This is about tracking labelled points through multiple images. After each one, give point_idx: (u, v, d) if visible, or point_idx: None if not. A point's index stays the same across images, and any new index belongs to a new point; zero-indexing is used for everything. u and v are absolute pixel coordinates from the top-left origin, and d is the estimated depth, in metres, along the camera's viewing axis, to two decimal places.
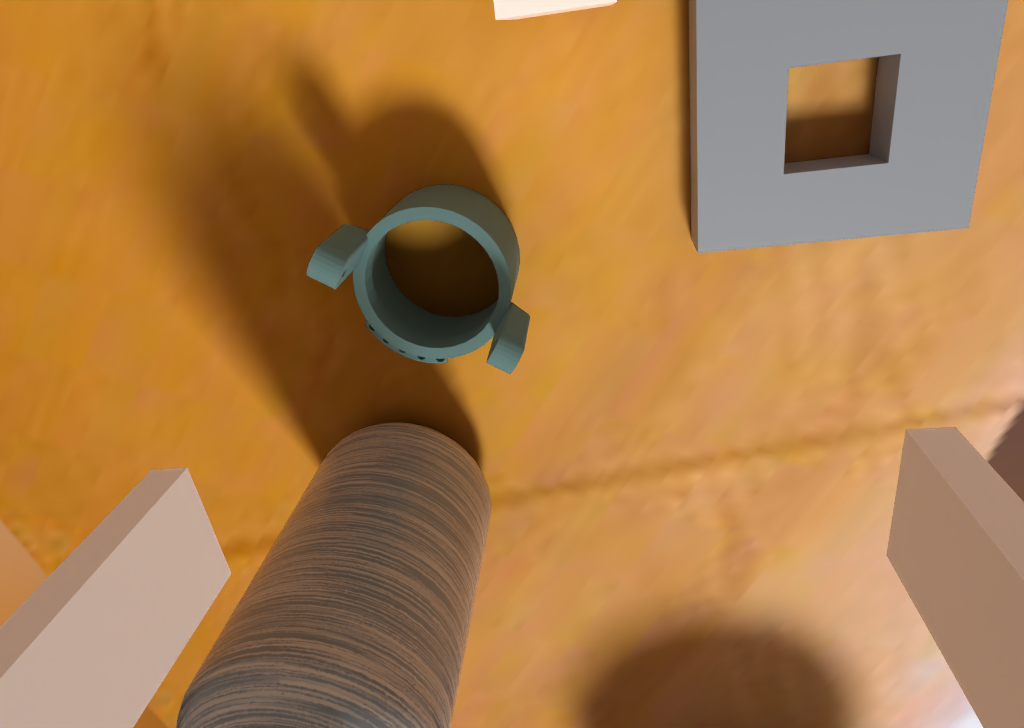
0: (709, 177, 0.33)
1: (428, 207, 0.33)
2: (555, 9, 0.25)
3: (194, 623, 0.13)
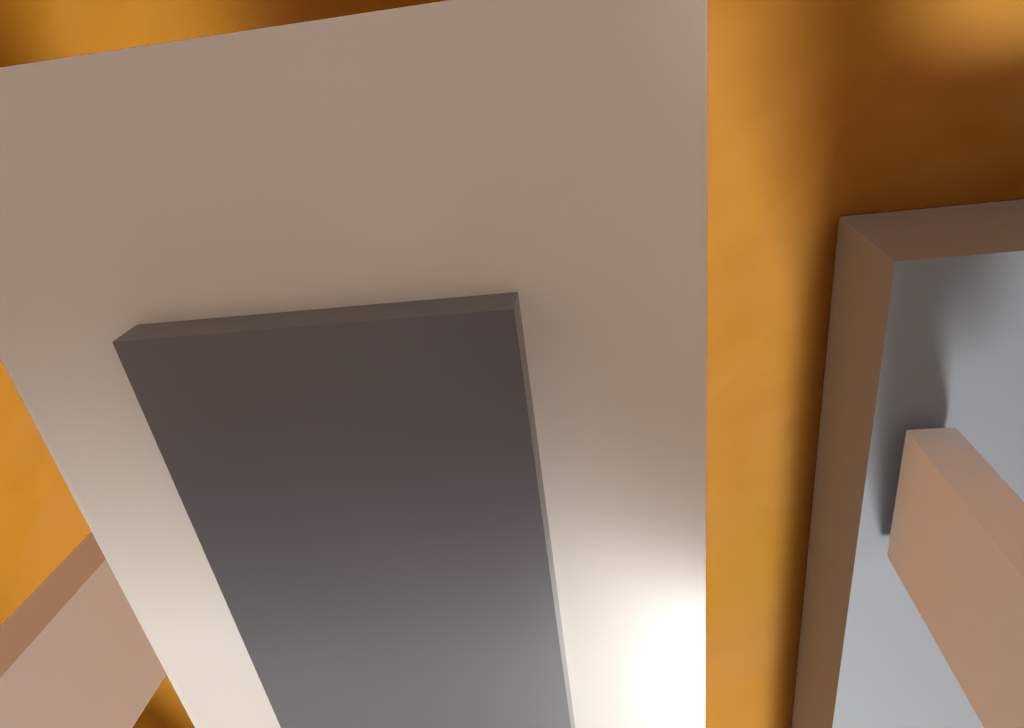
0: None
1: None
2: None
3: None
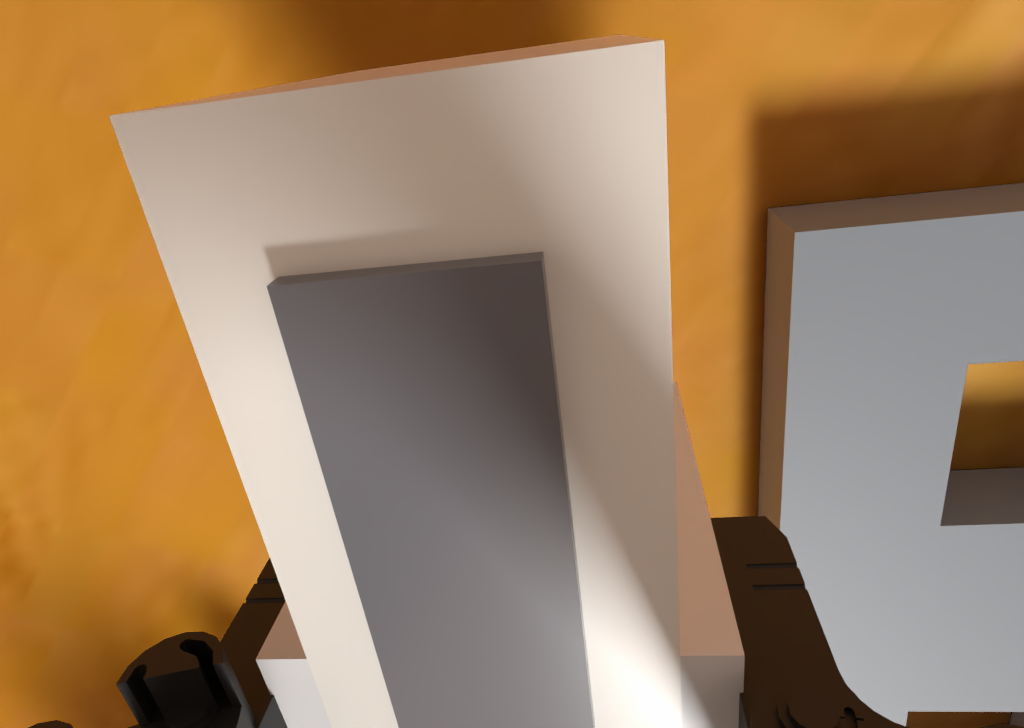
0: None
1: None
2: None
3: None
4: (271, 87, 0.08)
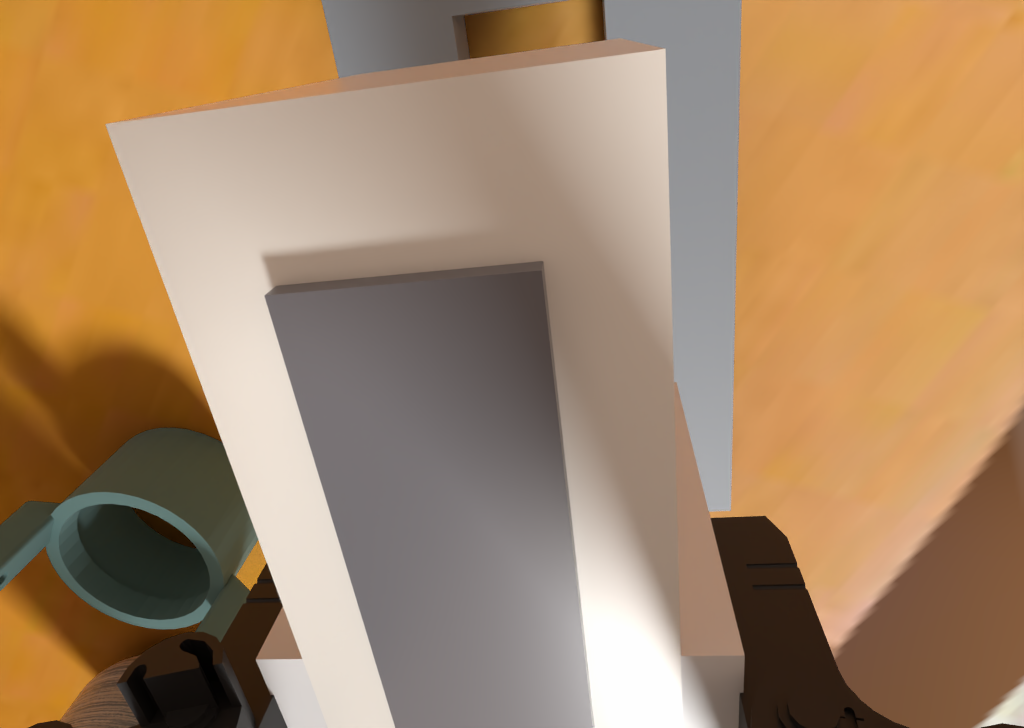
0: None
1: (111, 492, 0.29)
2: None
3: None
4: (269, 93, 0.08)
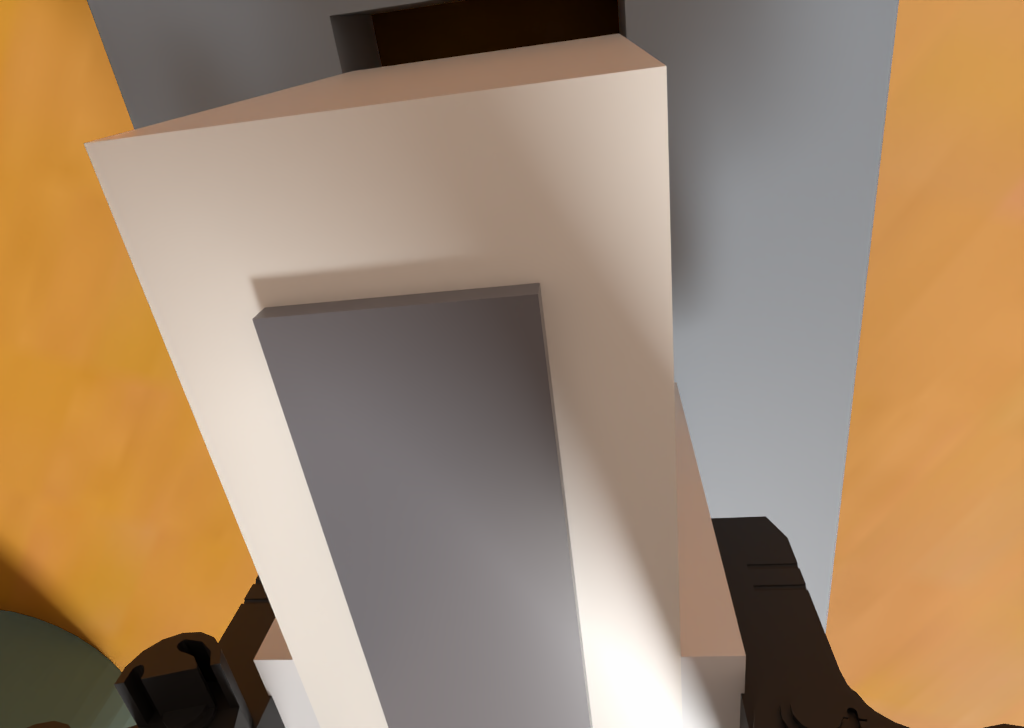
0: None
1: None
2: None
3: None
4: (257, 99, 0.08)
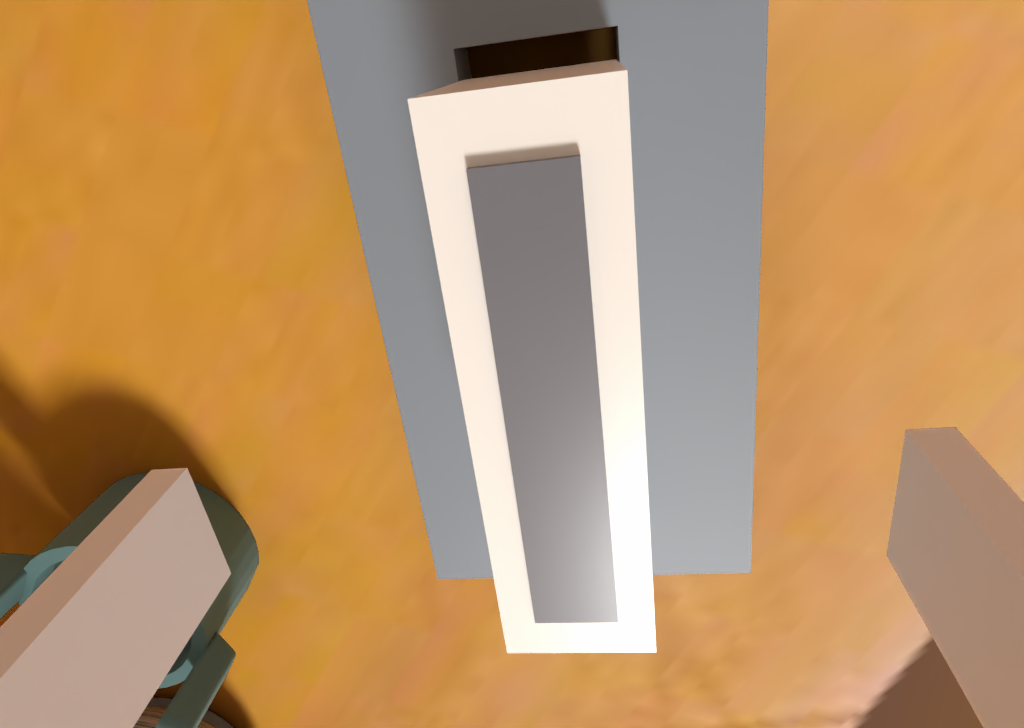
0: (435, 507, 0.27)
1: None
2: (580, 651, 0.20)
3: (195, 623, 0.13)
4: (445, 88, 0.16)
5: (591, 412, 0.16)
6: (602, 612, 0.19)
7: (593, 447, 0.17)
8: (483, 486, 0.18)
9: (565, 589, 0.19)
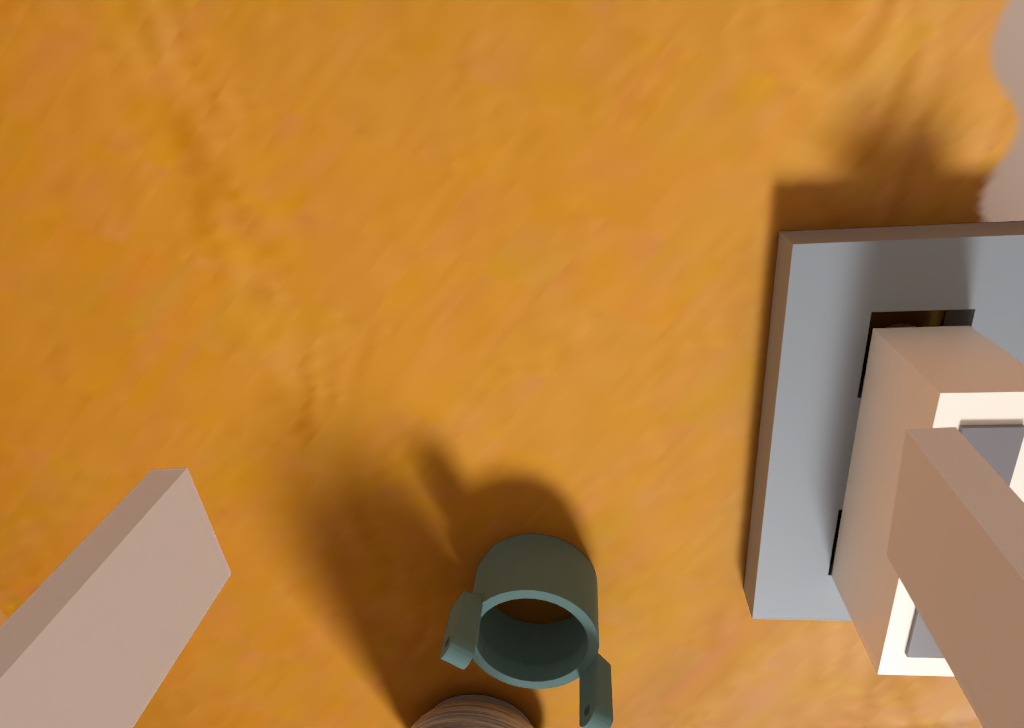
0: (767, 571, 0.41)
1: (537, 590, 0.40)
2: (925, 674, 0.34)
3: (195, 623, 0.13)
4: (919, 366, 0.30)
5: None
6: None
7: None
8: None
9: None
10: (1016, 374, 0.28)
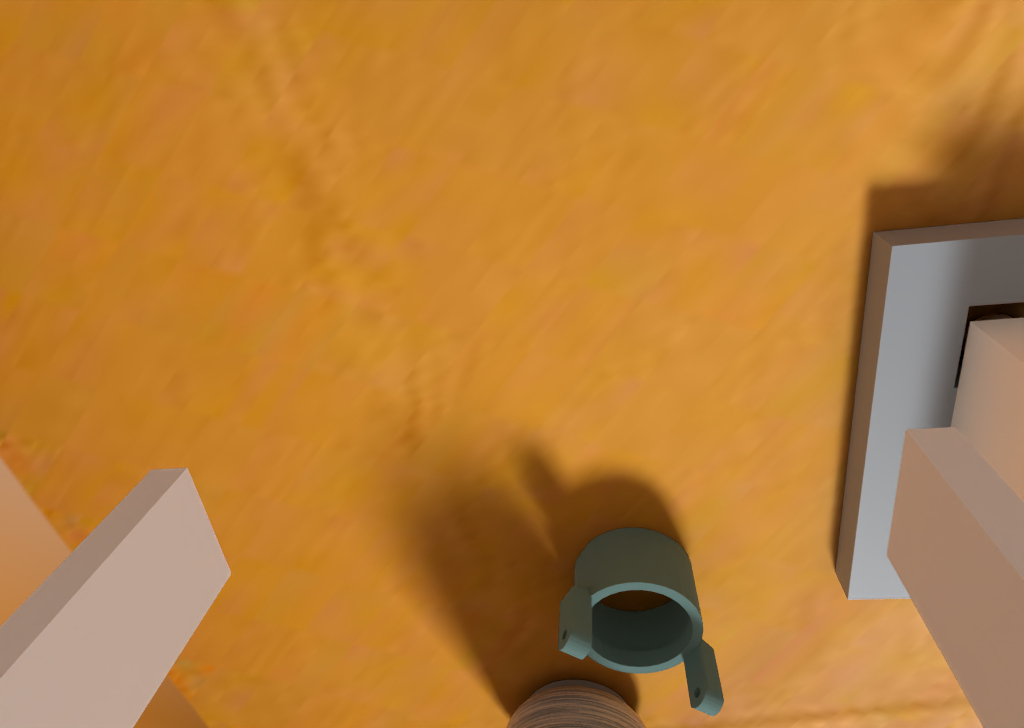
0: (863, 554, 0.42)
1: (644, 582, 0.42)
2: None
3: (194, 623, 0.13)
4: None
5: None
6: None
7: None
8: None
9: None
10: None
